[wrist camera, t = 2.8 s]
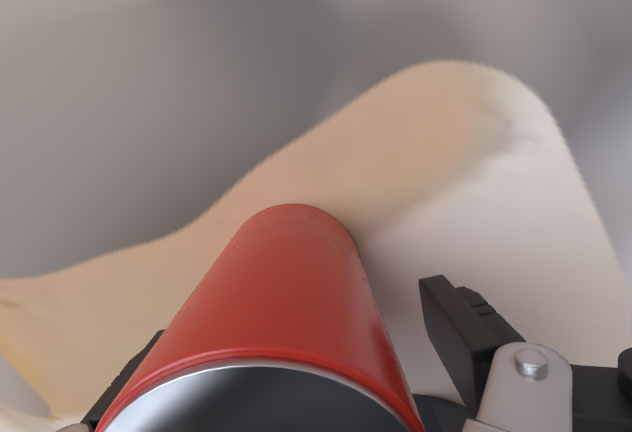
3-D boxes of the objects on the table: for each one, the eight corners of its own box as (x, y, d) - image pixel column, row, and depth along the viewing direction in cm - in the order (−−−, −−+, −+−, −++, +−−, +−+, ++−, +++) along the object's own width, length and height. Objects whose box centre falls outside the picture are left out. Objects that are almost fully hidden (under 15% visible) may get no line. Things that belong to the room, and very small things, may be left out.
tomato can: (230, 323, 15) (102, 628, 6) (224, 201, 14) (40, 353, 4) (354, 325, 16) (421, 627, 6) (362, 205, 14) (468, 358, 5)
